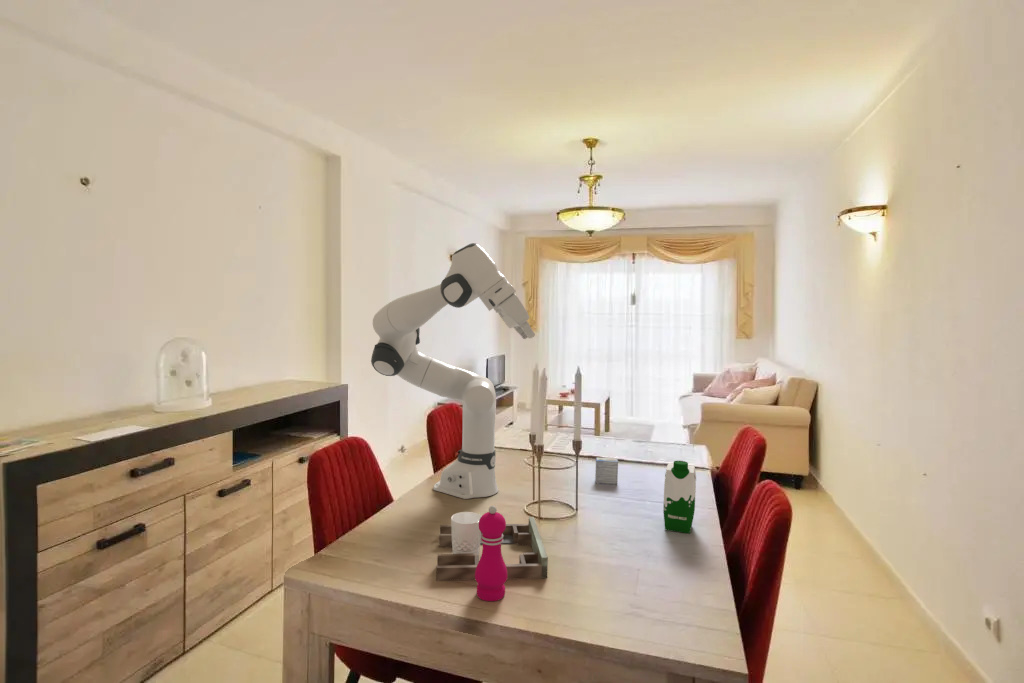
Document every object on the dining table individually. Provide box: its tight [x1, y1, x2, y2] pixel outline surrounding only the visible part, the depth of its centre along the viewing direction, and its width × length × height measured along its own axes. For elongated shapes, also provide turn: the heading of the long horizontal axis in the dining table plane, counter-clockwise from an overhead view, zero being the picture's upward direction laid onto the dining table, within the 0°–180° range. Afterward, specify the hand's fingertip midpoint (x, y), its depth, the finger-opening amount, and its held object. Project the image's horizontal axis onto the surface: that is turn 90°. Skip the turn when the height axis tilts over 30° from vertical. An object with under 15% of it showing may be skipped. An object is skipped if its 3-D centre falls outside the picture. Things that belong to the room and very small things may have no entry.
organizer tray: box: [435, 516, 549, 581], centre depth 142 cm, size 26×25×5 cm
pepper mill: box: [474, 505, 508, 602], centre depth 122 cm, size 7×7×20 cm
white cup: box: [450, 511, 482, 555], centre depth 141 cm, size 8×8×10 cm
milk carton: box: [662, 460, 697, 535], centre depth 163 cm, size 9×9×20 cm
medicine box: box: [594, 457, 619, 485], centre depth 204 cm, size 8×4×9 cm, turn 84°
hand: (529, 337), depth 149 cm, fingers open, 8 cm apart
